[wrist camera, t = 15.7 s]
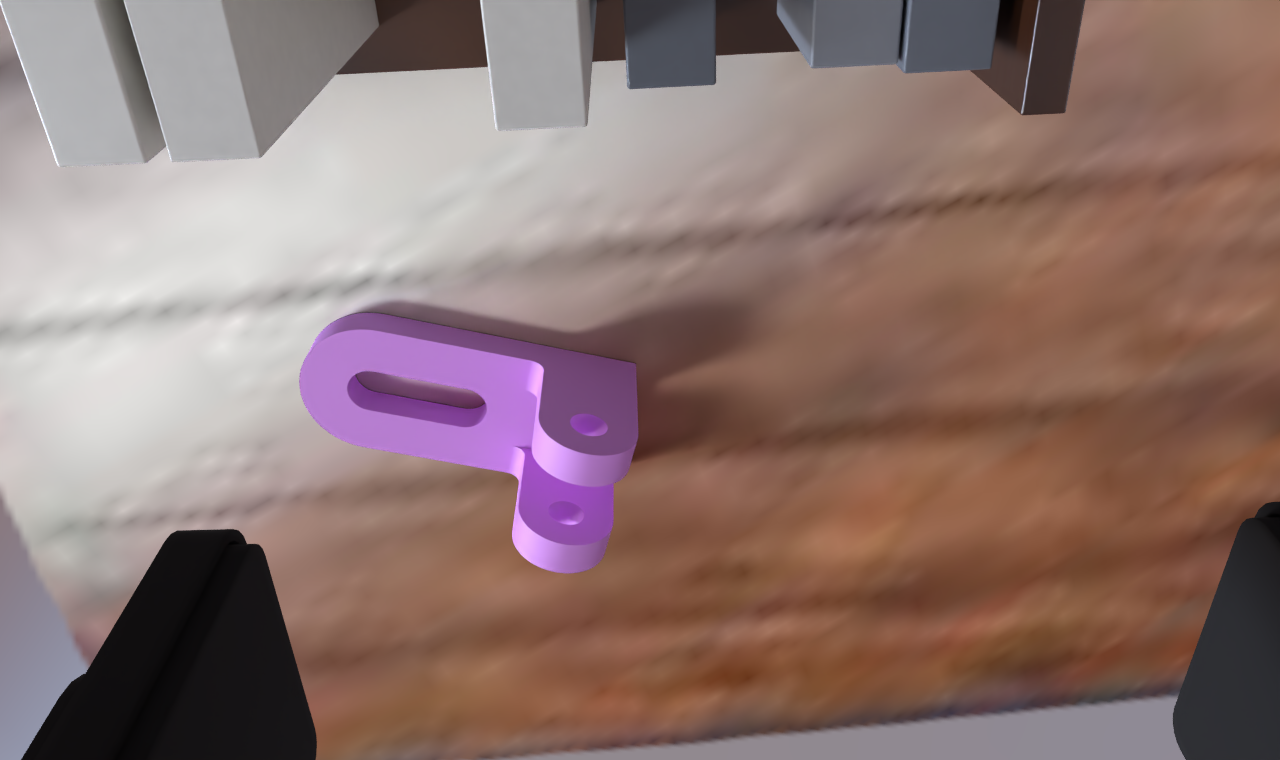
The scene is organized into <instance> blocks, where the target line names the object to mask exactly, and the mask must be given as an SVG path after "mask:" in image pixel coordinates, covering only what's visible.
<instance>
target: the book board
mask: <svg viewBox="0 0 1280 760" xmlns="http://www.w3.org/2000/svg"><path fill="white" fill-rule="evenodd" d="M1084 3H1085V0H1000V7H999V14H998V22H997V29H996V37H995V44H994V51H993V59H992V66H991V68H990V69H981V70H970V71H971V72H973V73H974V74H975V75H976V76H977V77H978V78H980V79H981V80H982V81H983V82H984V83H985V84H986V85H988V86H989V87H990V88H991V89H992V90H993V91H994V92H996V93H997V94H998V95H999V96H1000V97H1001V98H1003V99H1004V100H1005V101H1006V102H1007V103H1008V104H1009V105H1011V106H1012V107H1013V108H1014V109H1015V110H1016V111H1018V112H1019V113H1020V114H1021V115H1038V114H1058V113H1065V111H1066V105H1067V100H1068V94H1069V88H1070V83H1071V77H1072V71H1073V66H1074V60H1075V54H1076V49H1077V43H1078V37H1079V32H1080V26H1081V20H1082V15H1083V9H1084ZM375 5H376V11H377V16H378V22H379V27H378V28H377V29H376V30H375V31H374V32H373V33H372V34H371V36H370V37H369V38H368V39H367V40H366V41H365V42H364V43H363V44H362V46H361V47H360V48H359V49H358V50H357V51H356V52H355V53H354V55H353V56H352V57H351V58H350V59H349V60H348V61H347V62H346V63H345V65H344V66H343V67H342V68H341V69H340V70H339V71H338V72H337V73H336V75H337V74H357V73H377V72H397V71H417V70H437V69H457V68H477V67H488V62H487V53H486V45H485V37H484V29H483V20H482V12H481V4H480V0H375ZM796 51H800V50H799V48H798V47H797V45H796V43H795V42H794V40H793V39H792V37H791V36H790V34H789V33H788V31H787V29H786V28H785V26H784V25H783V23H782V22H781V20H780V19H779V17H778V15H777V0H716V55H736V54H756V53H776V52H796ZM617 60H626V52H625V32H624V12H623V0H597V6H596V19H595V32H594V45H593V58H592V62H597V61H617Z"/></svg>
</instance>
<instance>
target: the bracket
mask: <svg viewBox="0 0 1280 760" xmlns="http://www.w3.org/2000/svg"><path fill="white" fill-rule="evenodd" d="M363 371H373V372H378V373H384V374H389V375H394V376H400V377H405V378H410V379H416V380H421V381H426V382H431V383H437V384H442V385H447V386H453V387H458V388H463V389H468V390H472V391H474V392H476V393H478V394H479V395H480V396H481V397H482V398H483V399H484V401H485V404H484V405H482V406H480V407H478V408H474V409H465V408H460V407H454V406H449V405H444V404H438V403H433V402H428V401H422V400H417V399H411V398H406V397H401V396H395V395H390V394H384V393H379V392H374V391H371V390H368V389H366V388H365V387H364V386H362V385H361V384H360V383H359V381H358V380H357V378H356V375H355V374H357V373H359V372H363ZM299 383H300V392H301V396H302V399H303V402H304V404H305V406H306V408H307V410H308V411H309V413H310V414H311V416H312V417H313V418H314V419H315V421H316V422H317V423H318V424H319V425H320V426H321V427H323V428H324V429H325V430H326V431H328V432H329V433H330V434H332V435H334V436H335V437H337V438H339V439H341V440H343V441H345V442H348V443H351V444H354V445H357V446H362V447H367V448H372V449H378V450H383V451H389V452H395V453H400V454H406V455H412V456H417V457H423V458H428V459H434V460H440V461H445V462H451V463H456V464H462V465H468V466H473V467H479V468H485V469H490V470H496V471H501V472H507V473H511V474H513V475H515V476H516V477H517V478H518V480H519V486H518V494H517V501H516V508H515V516H514V523H513V531H512V538H513V542H514V545H515V547H516V548H517V550H518V551H519V553H520V554H521V555H522V556H523V557H524V558H525V559H527V560H528V561H529V562H531V563H533V564H534V565H536V566H538V567H541V568H543V569H546V570H549V571H553V572H559V573H577V572H582V571H586V570H588V569H591V568H593V567H594V566H596V565H597V564H598V563H599V562H600V561H601V560H602V558H603V556H604V554H605V550H606V547H607V543H608V540H609V537H610V533H611V530H612V526H613V483H616V482H618V481H620V480H621V479H622V478H624V477H625V476H626V474H627V473H628V471H629V467H630V464H631V460H632V457H633V453H634V450H635V447H636V443H637V440H638V409H637V379H636V363H631V362H625V361H620V360H615V359H610V358H605V357H600V356H595V355H590V354H585V353H580V352H575V351H570V350H564V349H559V348H554V347H549V346H544V345H539V344H534V343H529V342H524V341H519V340H514V339H509V338H503V337H498V336H493V335H488V334H483V333H478V332H473V331H468V330H463V329H458V328H453V327H448V326H442V325H437V324H432V323H427V322H422V321H417V320H412V319H407V318H402V317H397V316H392V315H387V314H380V313H358V314H353V315H349V316H345V317H343V318H340V319H338V320H336V321H334V322H333V323H331V324H330V325H328V326H327V327H326V328H325V329H323V331H322V332H321V333H320V334H319V335H318V336H317V338H316V339H315V341H314V343H313V345H312V347H311V349H310V351H309V353H308V355H307V356H306V358H305V360H304V362H303V365H302V368H301V372H300V379H299Z"/></svg>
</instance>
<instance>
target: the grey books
mask: <svg viewBox="0 0 1280 760" xmlns="http://www.w3.org/2000/svg"><path fill="white" fill-rule="evenodd" d="M999 7H1000V0H777V15H778V17H779V19H780V20H781V22H782V23H783V25H784V26H785V28H786V29H787V31H788V33H789V34H790V36H791V37H792V39H793V40H794V42H795V43H796V45H797V47H798V48H799V50H800V51H801V53H802V54H803V56H804V57H805V59H806V61H807V62H808V64H809V65H810V67H811V68H830V67H850V66H870V65H890V64H896V65H897V66H898V67H899V68H900V69H901V70H902V71H903V72H904V73H921V72H941V71H961V70H981V69H990V68H991V66H992V59H993V51H994V44H995V37H996V29H997V22H998V14H999ZM623 12H624V32H625V52H626V72H627V87H628V88H629V89H640V88H660V87H680V86H701V85H714V84H715V83H716V0H623Z"/></svg>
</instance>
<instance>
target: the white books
mask: <svg viewBox="0 0 1280 760" xmlns="http://www.w3.org/2000/svg"><path fill="white" fill-rule="evenodd" d="M0 5H1V8H2V11H3V14H4V17H5V19H6V22H7V25H8V28H9V31H10V33H11V36H12V39H13V42H14V45H15V47H16V50H17V53H18V56H19V59H20V61H21V64H22V67H23V70H24V73H25V75H26V78H27V81H28V84H29V87H30V89H31V92H32V95H33V98H34V101H35V103H36V106H37V109H38V112H39V115H40V117H41V120H42V123H43V126H44V129H45V131H46V134H47V137H48V140H49V143H50V145H51V148H52V151H53V154H54V157H55V159H56V162H57V165H58V166H59V167H77V166H97V165H117V164H137V163H147V162H148V161H149V160H151V159H152V158H153V157H154V156H155V155H156V154H158V153H159V152H160V151H161V150H162V149H164V148H165V147H166V146H167V149H168V152H169V156H170V159H171V161H172V162H188V161H208V160H228V159H249V158H261V157H262V156H263V155H264V154H265V153H266V152H267V150H268V149H269V148H270V147H271V146H272V145H273V144H274V143H275V142H276V140H277V139H278V138H279V137H280V136H281V135H282V134H283V133H284V132H285V130H286V129H287V128H288V127H289V126H290V125H291V124H292V123H293V121H294V120H295V119H296V118H297V117H298V116H299V115H300V114H301V113H302V111H303V110H304V109H305V108H306V107H307V106H308V105H309V104H310V102H311V101H312V100H313V99H314V98H315V97H316V96H317V95H318V94H319V92H320V91H321V90H322V89H323V88H324V87H325V86H326V85H327V84H328V82H329V81H330V80H331V79H332V78H333V77H334V76H335V75H336V73H337V72H338V71H339V70H340V69H341V68H342V67H343V66H344V65H345V63H346V62H347V61H348V60H349V59H350V58H351V57H352V56H353V55H354V53H355V52H356V51H357V50H358V49H359V48H360V47H361V46H362V44H363V43H364V42H365V41H366V40H367V39H368V38H369V37H370V36H371V34H372V33H373V32H374V31H375V30H376V29H377V28H378V27H379V22H378V16H377V11H376V5H375V0H0Z"/></svg>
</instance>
